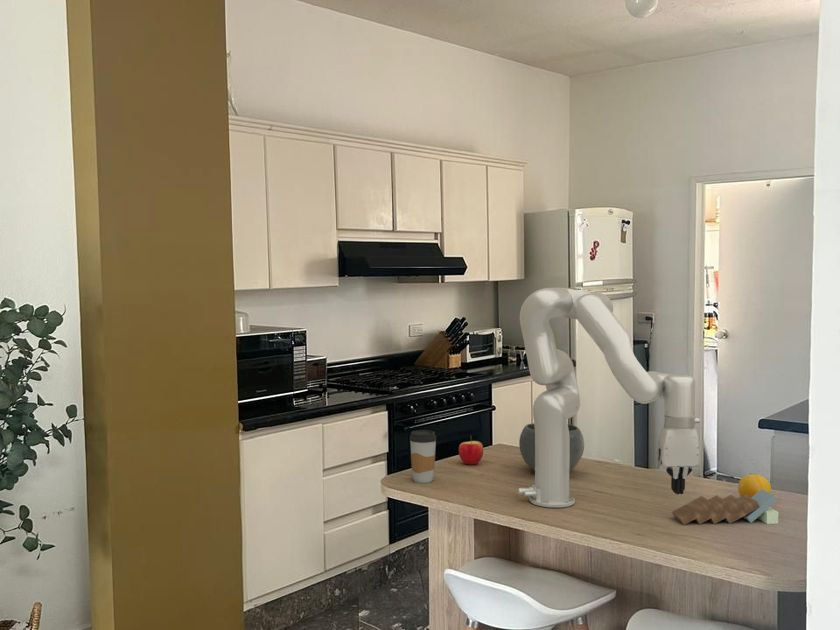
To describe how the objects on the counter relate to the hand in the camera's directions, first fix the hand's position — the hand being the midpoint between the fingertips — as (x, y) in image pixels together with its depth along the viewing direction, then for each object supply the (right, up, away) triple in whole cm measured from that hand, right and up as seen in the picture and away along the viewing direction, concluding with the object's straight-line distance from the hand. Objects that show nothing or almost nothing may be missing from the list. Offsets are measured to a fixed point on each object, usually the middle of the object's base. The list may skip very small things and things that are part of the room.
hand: (677, 492), depth 206 cm
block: (+23, -7, +2) cm, 25 cm away
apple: (-50, -4, +62) cm, 80 cm away
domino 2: (+4, -7, +1) cm, 8 cm away
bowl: (-24, -5, +50) cm, 56 cm away
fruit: (+27, -7, +17) cm, 32 cm away
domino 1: (0, -7, 0) cm, 7 cm away
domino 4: (+12, -7, +1) cm, 14 cm away
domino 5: (+18, -7, +2) cm, 19 cm away
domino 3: (+8, -7, +1) cm, 11 cm away
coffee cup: (-66, -6, +41) cm, 78 cm away
